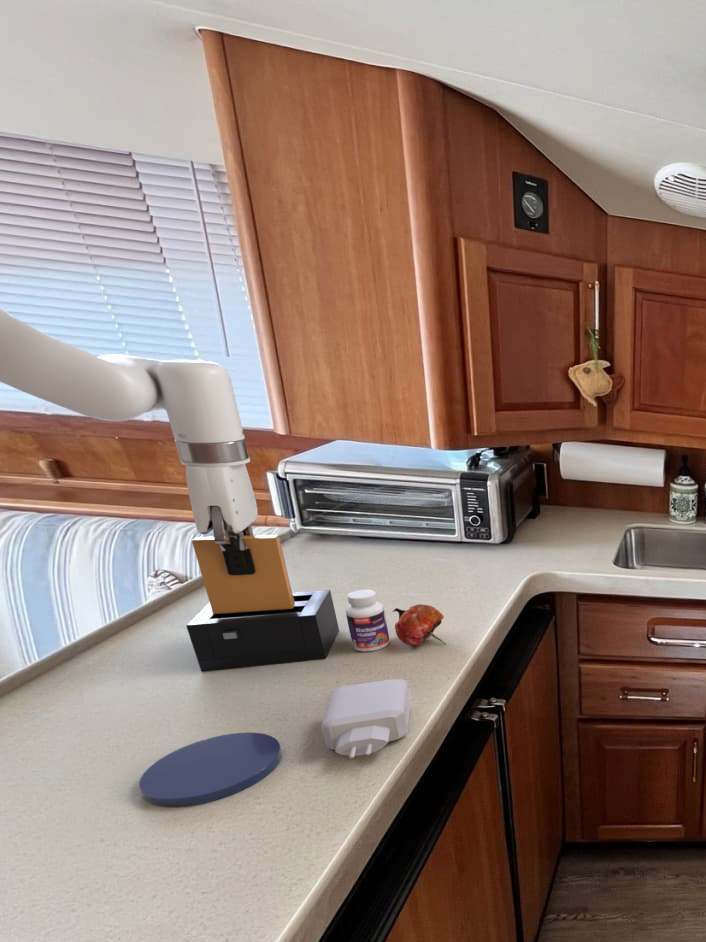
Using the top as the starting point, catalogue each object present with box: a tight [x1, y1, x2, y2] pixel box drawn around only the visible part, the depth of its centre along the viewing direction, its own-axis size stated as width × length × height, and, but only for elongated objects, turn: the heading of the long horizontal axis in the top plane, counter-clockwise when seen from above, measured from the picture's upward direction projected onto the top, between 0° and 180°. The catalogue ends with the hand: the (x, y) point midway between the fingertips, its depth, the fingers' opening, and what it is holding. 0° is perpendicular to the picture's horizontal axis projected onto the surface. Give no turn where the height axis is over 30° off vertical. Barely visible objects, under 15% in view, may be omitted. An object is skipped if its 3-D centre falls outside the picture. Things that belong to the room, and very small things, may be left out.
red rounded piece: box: [392, 603, 447, 647], centre depth 111 cm, size 7×7×10 cm
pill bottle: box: [345, 589, 390, 653], centre depth 108 cm, size 5×5×10 cm
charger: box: [320, 678, 412, 759], centre depth 86 cm, size 5×9×15 cm
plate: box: [138, 732, 283, 808], centre depth 78 cm, size 13×13×1 cm
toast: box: [191, 534, 295, 614], centre depth 98 cm, size 10×2×12 cm, turn 114°
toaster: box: [186, 589, 340, 673], centre depth 104 cm, size 16×12×8 cm
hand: (245, 570), depth 98 cm, fingers closed on toast, 1 cm apart
